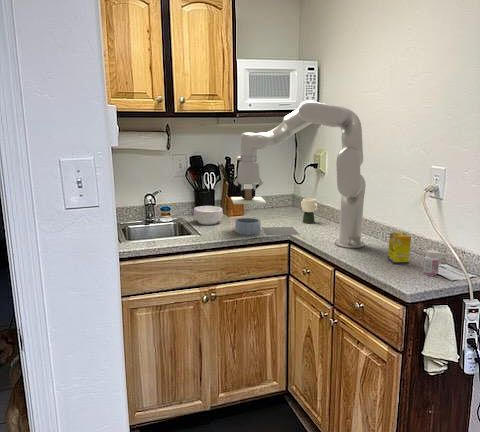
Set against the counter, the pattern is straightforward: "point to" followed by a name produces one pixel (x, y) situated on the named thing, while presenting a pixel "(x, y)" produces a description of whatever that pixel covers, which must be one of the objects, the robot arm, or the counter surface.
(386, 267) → the counter surface
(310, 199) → the character mug
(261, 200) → the lid
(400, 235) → the supplement box
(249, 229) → the bowl
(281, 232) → the mat
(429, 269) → the pill bottle
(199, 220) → the pale pink bowl
